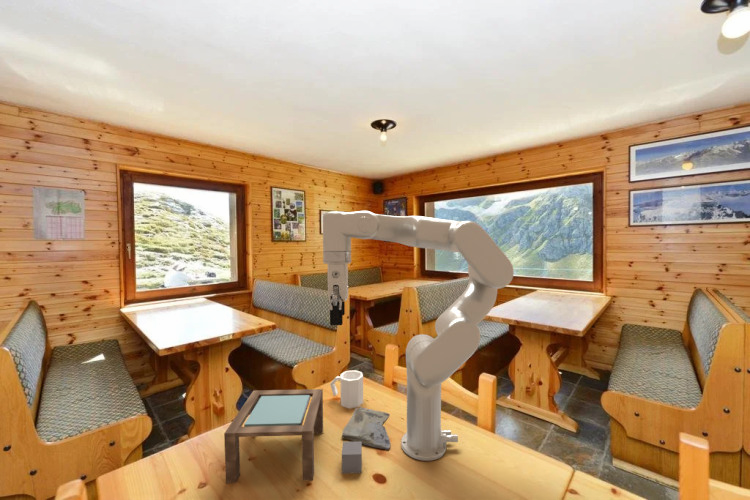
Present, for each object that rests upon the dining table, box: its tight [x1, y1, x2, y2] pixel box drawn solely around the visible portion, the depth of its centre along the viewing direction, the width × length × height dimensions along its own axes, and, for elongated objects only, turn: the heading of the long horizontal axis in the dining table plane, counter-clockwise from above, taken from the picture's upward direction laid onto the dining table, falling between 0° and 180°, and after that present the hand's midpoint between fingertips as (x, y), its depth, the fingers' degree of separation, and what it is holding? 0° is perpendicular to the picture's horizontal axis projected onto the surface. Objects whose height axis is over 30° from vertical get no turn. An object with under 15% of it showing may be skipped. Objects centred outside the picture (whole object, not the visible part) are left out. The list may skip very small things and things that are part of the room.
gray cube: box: [341, 441, 363, 474], centre depth 85 cm, size 5×5×5 cm
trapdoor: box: [243, 395, 312, 427], centre depth 90 cm, size 14×14×1 cm
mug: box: [329, 369, 364, 410], centre depth 117 cm, size 12×9×10 cm
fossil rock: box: [341, 406, 391, 451], centre depth 101 cm, size 18×15×2 cm
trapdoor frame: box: [223, 388, 324, 484], centre depth 90 cm, size 21×21×12 cm
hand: (337, 319), depth 90 cm, fingers open, 9 cm apart
